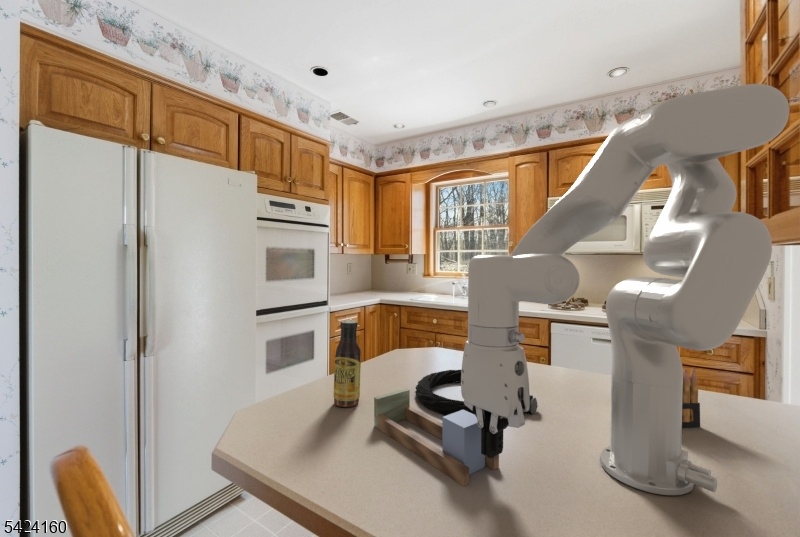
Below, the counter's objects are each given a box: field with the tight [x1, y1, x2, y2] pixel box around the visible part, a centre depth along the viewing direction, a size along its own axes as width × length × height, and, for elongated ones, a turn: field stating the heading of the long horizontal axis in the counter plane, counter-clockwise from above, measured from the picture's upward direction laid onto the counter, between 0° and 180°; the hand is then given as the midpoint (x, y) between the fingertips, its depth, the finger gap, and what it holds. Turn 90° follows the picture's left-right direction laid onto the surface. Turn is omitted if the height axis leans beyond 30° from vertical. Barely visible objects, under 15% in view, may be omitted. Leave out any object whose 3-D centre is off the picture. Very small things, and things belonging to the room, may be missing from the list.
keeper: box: [441, 410, 486, 476], centre depth 61 cm, size 5×5×8 cm
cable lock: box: [414, 369, 539, 415], centre depth 91 cm, size 28×4×30 cm
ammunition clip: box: [682, 367, 701, 429], centre depth 75 cm, size 11×2×12 cm, turn 93°
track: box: [373, 388, 500, 487], centre depth 68 cm, size 25×8×6 cm, turn 37°
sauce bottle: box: [333, 319, 362, 408], centre depth 87 cm, size 6×6×20 cm
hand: (491, 453), depth 56 cm, fingers closed
